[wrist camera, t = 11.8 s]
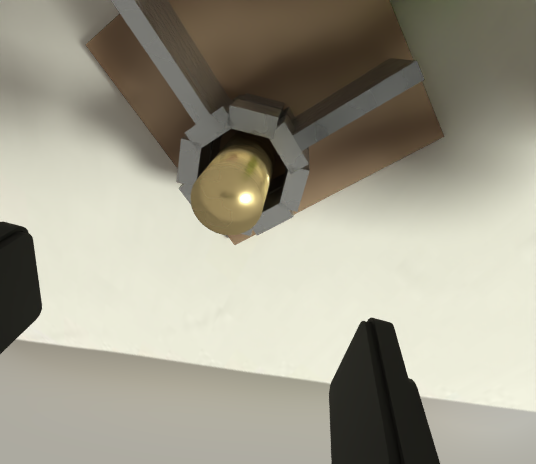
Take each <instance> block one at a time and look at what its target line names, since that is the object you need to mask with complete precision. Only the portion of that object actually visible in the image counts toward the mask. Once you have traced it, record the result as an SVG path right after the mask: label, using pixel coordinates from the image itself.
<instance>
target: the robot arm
mask: <svg viewBox="0 0 536 464" xmlns="http://www.w3.org/2000/svg"><path fill="white" fill-rule="evenodd" d="M41 310H42V302H41V295H40V288H39V280H38V273H37V266H36V258H35V251H34V244H33V238H32V236H31V235H30V234H29V233H28V230H27V229H26V228H24V227H22V226H18V225H14V224H10V223H7V222H0V354H1V353H2V352H3V351H4V350H5V349H6V348H7V347H8V346H9V345H10V344H11V343H12V342H13V341H14V340H15V339H16V338H17V337H18V336H19V335H21V334H22V333H23V332H24V331H25V330H26V329H27V328H28V327H29V326H30V325H31V324H32V323H33V322H34V321H35V320H36V319H37V318H38V316H39V315H40V313H41ZM329 405H330V431H331V458H332V464H440V463H439V459H438V456H437V452H436V449H435V445H434V442H433V439H432V435H431V432H430V429H429V425H428V422H427V419H426V415H425V412H424V408H423V405H422V402H421V399H420V395H419V392H418V389H417V386H416V384H415V382H414V381H413V380H412V379H409V378H408V375H407V372H406V368H405V365H404V361H403V358H402V354H401V350H400V347H399V343H398V340H397V336H396V333H395V329H394V326H393V324H392V323H390V322H386V321H383V320H379V319H375V318H370V319H368V321H367V322H365V321H362V322H361V323H360V325H359V327H358V329H357V331H356V333H355V335H354V337H353V339H352V341H351V343H350V345H349V347H348V349H347V351H346V353H345V355H344V358H343V360H342V362H341V364H340V366H339V368H338V370H337V372H336V374H335V376H334V378H333V380H332V382H331V385H330V391H329Z"/></svg>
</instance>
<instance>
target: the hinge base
mask: <svg viewBox="0 0 536 464" xmlns="http://www.w3.org/2000/svg"><path fill="white" fill-rule="evenodd" d="M168 1H169V3H170V4H171V6H172V8H173V9H174V11H175V12H176V14H177V16H178V17H179V19H180V20H181V22H182V24H183V25H184V27H185V28H186V30H187V32H188V33H189V35H190V36H191V38H192V40H193V41H194V43H195V44H196V46H197V47H198V49H199V51H200V52H201V54H202V55H203V57H204V59H205V60H206V62H207V63H208V65H209V67H210V68H211V70H212V71H213V73H214V75H215V76H216V78H217V79H218V81H219V83H220V84H221V86H222V87H223V89H224V91H225V92H226V94H227V95H228V97H229V98H230V100H233V99H234V98H236V97H237V96H239V95H240V94H241V95H242V96H243V95H245V94H246V93H248V94H252V95H256V96H260V97H264V98H268V99H272V100H276V101H280V102H283V103H284V106H283V110H284V109H286V108H287V107H290V109H291V111H292V112H293V114H294V116H295V117H296V116H298V115H300V114H301V113H303V112H304V111H306V110H308V109H309V108H311V107H312V106H314V105H316V104H317V103H319V102H320V101H322V100H324V99H325V98H327V97H329V96H330V95H332V94H333V93H335V92H337V91H338V90H340V89H341V88H343V87H345V86H346V85H348V84H349V83H351V82H353V81H354V80H356V79H357V78H359V77H361V76H362V75H364V74H365V73H367V72H369V71H370V70H372V69H373V68H375V67H377V66H378V65H380V64H381V63H383V62H385V61H386V60H388V59H389V58H393V59H405V60H413V58H412V55H411V53H410V50H409V48H408V45H407V43H406V40H405V38H404V35H403V33H402V30H401V28H400V25H399V23H398V20H397V18H396V15H395V13H394V10H393V8H392V5H391V3H390V0H168ZM86 46H87V48H88V49H89V50H90V52H91V53H92V54H93V56H94V57H95V58H96V60H97V61H98V62H99V64H100V65H101V66H102V68H103V69H104V70H105V72H106V73H107V74H108V76H109V77H110V78H111V80H112V81H113V82H114V84H115V85H116V86H117V88H118V89H119V91H120V92H121V93H122V95H123V96H124V97H125V99H126V100H127V101H128V103H129V104H130V105H131V107H132V108H133V109H134V111H135V112H136V113H137V115H138V116H139V117H140V119H141V120H142V121H143V123H144V124H145V125H146V127H147V128H148V129H149V131H150V132H151V133H152V135H153V136H154V137H155V139H156V140H157V142H158V143H159V144H160V146H161V147H162V148H163V150H164V151H165V152H166V154H167V155H168V156H169V158H170V159H171V160H172V162H173V163H174V164H175V166H176V167H177V168H178V164H179V154H180V145H181V138H183V137H184V136H185V135H186V134H185V132H186V131H188V130H189V129H191V128H192V127H193V126H195V125H196V124H195V122H194V121H193V119H192V118H191V116H190V115H189V114H188V112H187V111H186V109H185V108H184V106H183V105H182V103H181V102H180V100H179V99H178V97H177V96H176V95H175V93H174V92H173V90H172V89H171V87H170V86H169V84H168V83H167V81H166V80H165V79H164V77H163V76H162V74H161V73H160V71H159V70H158V68H157V67H156V65H155V64H154V62H153V61H152V60H151V58H150V57H149V55H148V54H147V52H146V51H145V49H144V48H143V46H142V45H141V44H140V42H139V41H138V39H137V38H136V36H135V35H134V33H133V32H132V30H131V29H130V27H129V26H128V25H127V23H126V22H125V20H124V19H123V17H122V16H121V14H119V15H118V16H117V17H116V18H115V19H113V20H112V21H111V22H110V23H109V24H108V25H107V26H106V27H105V28H104V29H102V30H101V31H100V32H99V33H98V34H97V35H96V36H95V37H94V38H93V39H91V40H90V41H89V42H88V43H87V44H86ZM237 131H238V130H235V129H230V130H228V131H227V132H225V133H224V134H222V137H221V143H220V149H219V152H220V151H221V150H222V149H223V147H224V146H225V145H226V144H227V143H228V141H229V140H230V139H231V138H232V137H233V135H234V134H235V133H236V132H237ZM442 137H444V135H443V132H442V130H441V127H440V125H439V122H438V120H437V117H436V115H435V112H434V110H433V108H432V105H431V103H430V100H429V98H428V95H427V93H426V90H425V88H424V85H423V83H422V81H421V82H419V83H418V84H416V85H414V86H413V87H411V88H409V89H407V90H406V91H404V92H402V93H401V94H399V95H397V96H395V97H394V98H392V99H390V100H389V101H387V102H385V103H383V104H382V105H380V106H378V107H377V108H375V109H373V110H371V111H370V112H368V113H366V114H364V115H363V116H361V117H359V118H358V119H356V120H354V121H352V122H351V123H349V124H347V125H346V126H344V127H342V128H340V129H339V130H337V131H335V132H334V133H332V134H330V135H328V136H327V137H325V138H323V139H322V140H320V141H318V142H316V143H315V144H313V145H311V146H310V147H309V167H310V171H309V175H308V178H307V181H306V185H305V188H304V192H303V195H302V198H301V202H300V205H299V208H298V212H300V211H302V210H304V209H305V208H307V207H309V206H311V205H313V204H315V203H317V202H319V201H321V200H323V199H325V198H327V197H329V196H331V195H332V194H334V193H336V192H338V191H340V190H342V189H344V188H346V187H348V186H350V185H352V184H354V183H356V182H358V181H359V180H361V179H363V178H365V177H367V176H369V175H371V174H373V173H375V172H377V171H379V170H381V169H383V168H385V167H386V166H388V165H390V164H392V163H394V162H396V161H398V160H400V159H402V158H404V157H406V156H408V155H410V154H412V153H413V152H415V151H417V150H419V149H421V148H423V147H425V146H427V145H429V144H431V143H433V142H435V141H437V140H439V139H440V138H442ZM285 169H286V166H285V164H284V162H283V161H282V159H281V157H280V156H279V154H278V153H277V157H276V161H275V165H274V169H273V173H272V176H271V180H273V179H274V178H276V177H278V176H280V175H281V174H283V173H285ZM271 180H270V181H271ZM298 212H295V211H294V214H296V213H298ZM294 214H293V215H294ZM255 234H256V233H255V232H254V230H253V231H252V234H251V236H253V235H255ZM251 236H248V235H244V234H237V235H228V237H229V238H230V239H231V241H232V242H233V244H234V245H236V244H238V243H240V242H242V241H244V240H246V239H248V238H250V237H251Z"/></svg>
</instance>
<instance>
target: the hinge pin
mask: <svg viewBox="0 0 536 464" xmlns="http://www.w3.org/2000/svg"><path fill="white" fill-rule="evenodd" d="M276 157H277V151H276V149H275V148H274V146H273V144H272V143H271V141H270V139H269V138H267V137H263V136H259V135H255V134H251V133H247V132H243V131H239V130H238V131H237V132H236V133H235V134H234V135H233V137H232V138H231V139H230V140H229V141H228V143H227V144H226V145H225V146H224V147H223V149H222V150H221V151H220V152H219V153H218V155H217V156H216V157H215V158H214V159H213V161H212V162H211V163H210V164H209V165H208V167H207V168H206V169H205V170H204V171H203V173H202V174H201V175H200V176H199V177H198V179H197V180H196V181H195V183H194V185H193V187H192V190H191V206H192V209H193V212H194V214H195V215H196V217H197V218H198V220H199V221H200V222H201V223H202V224H203V225H204V226H205V227H207V228H208V229H210V230H212V231H214V232H216V233H219V234H223V235H237V234H241V233H244V232H246V231H248V230H250V229H251V228H252V227H253V226H254V225H255V224H256V223H257V222H258V220H259V219H260V217H261V214H262V210H263V207H264V203H265V199H266V195H267V192H268V188H269V184H270V180H271V176H272V173H273V169H274V165H275V161H276Z"/></svg>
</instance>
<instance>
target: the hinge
mask: <svg viewBox="0 0 536 464" xmlns="http://www.w3.org/2000/svg"><path fill="white" fill-rule="evenodd" d="M111 1H112V3H113V4H114V6H115V7H116V8H117V10H118V11H119V13H120V14H121V16H122V17H123V19H124V20H125V22H126V23H127V25H128V26H129V27H130V29H131V30H132V32H133V33H134V35H135V36H136V38H137V39H138V41H139V42H140V44H141V45H142V46H143V48H144V49H145V51H146V52H147V54H148V55H149V57H150V58H151V60H152V61H153V62H154V64H155V65H156V67H157V68H158V70H159V71H160V73H161V74H162V76H163V77H164V79H165V80H166V81H167V83H168V84H169V86H170V87H171V89H172V90H173V92H174V93H175V95H176V96H177V97H178V99H179V100H180V102H181V103H182V105H183V106H184V108H185V109H186V111H187V112H188V114H189V115H190V116H191V118H192V119H193V121H194V122H195V124H196V125H195V126H193V127H192V128H191V129H189V130H188V131H186V132H185V134H186V135H185V136H184V137H183V138H181V145H180V154H179V164H178V174H177V182H179V183H183V184H182V185H181V186H180V187H179V190H180V191H181V192H182V193H183V195H184V196H185V197H186V199H187V200H188V201H189V203H190V204H191V190H192V187H193V185H194V183H195V181H196V180H197V179H198V177H199V176H200V175H201V174H202V173H203V171H204V170H205V169H206V168H207V167H208V165H209V164H210V163H211V162H212V161H213V159H214V158H215V157H216V156H217V155H218V153H219V149H220V143H221V137H222V134H224V133H225V132H227V131H228V130H230V129H235V130H239V131H243V132H247V133H251V134H255V135H259V136H263V137H267V138H269V139H270V141H271V143H272V144H273V146H274V148H275V149H276V151H277V153H278V154H279V156H280V157H281V159H282V161H283V162H284V164H285V166H286V169H285V173H283V174H281V175H280V176H278V177H276V178H274V179H273V180H271V181H270V184H269V188H268V192H267V195H266V199H265V203H264V207H263V210H262V214H261V217H260V219H259V220H258V222H257V223H256V224H255V225H254V226H253V227H252V228H251V229H250V230H248V231H246V232H244V233H241V234H244V235H248V236H251V234H252V231H253V230H254V232H255V233H256V235H259V234H261V233H263V232H265V231H267V230H269V229H271V228H273V227H275V226H277V225H278V224H280V223H282V222H284V221H286V220H288V219H290V218H292V217H293V214H294V211H295V212H298V208H299V205H300V202H301V198H302V195H303V192H304V188H305V185H306V181H307V178H308V175H309V171H310V167H309V147H310V146H311V145H313V144H315V143H316V142H318V141H320V140H322V139H323V138H325V137H327V136H328V135H330V134H332V133H334V132H335V131H337V130H339V129H340V128H342V127H344V126H346V125H347V124H349V123H351V122H352V121H354V120H356V119H358V118H359V117H361V116H363V115H364V114H366V113H368V112H370V111H371V110H373V109H375V108H377V107H378V106H380V105H382V104H383V103H385V102H387V101H389V100H390V99H392V98H394V97H395V96H397V95H399V94H401V93H402V92H404V91H406V90H407V89H409V88H411V87H413V86H414V85H416V84H418V83H419V82H421V81H423V80H424V77H423V75H422V72H421V70H420V67H419V65H418V62H417V60H405V59H393V58H389V59H388V60H386V61H385V62H383V63H381V64H380V65H378V66H377V67H375V68H373V69H372V70H370V71H369V72H367V73H365V74H364V75H362V76H361V77H359V78H357V79H356V80H354V81H353V82H351V83H349V84H348V85H346V86H345V87H343V88H341V89H340V90H338V91H337V92H335V93H333V94H332V95H330V96H329V97H327V98H325V99H324V100H322V101H320V102H319V103H317V104H316V105H314V106H312V107H311V108H309V109H308V110H306V111H304V112H303V113H301V114H300V115H298V116H296V117H295V116H294V114H293V112H292V111H291V109H290V107H287V108H286V109H284V110H283V106H284V103H283V102H280V101H276V100H272V99H268V98H264V97H260V96H256V95H252V94H248V93H246V94H245V95H243V96H242V95H241V94H240V95H239V96H237V97H236V98H234V99H233V100H230V98H229V97H228V95H227V94H226V92H225V91H224V89H223V87H222V86H221V84H220V83H219V81H218V79H217V78H216V76H215V75H214V73H213V71H212V70H211V68H210V67H209V65H208V63H207V62H206V60H205V59H204V57H203V55H202V54H201V52H200V51H199V49H198V47H197V46H196V44H195V43H194V41H193V40H192V38H191V36H190V35H189V33H188V32H187V30H186V28H185V27H184V25H183V24H182V22H181V20H180V19H179V17H178V16H177V14H176V12H175V11H174V9H173V8H172V6H171V4H170V3H169V1H168V0H111Z"/></svg>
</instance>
